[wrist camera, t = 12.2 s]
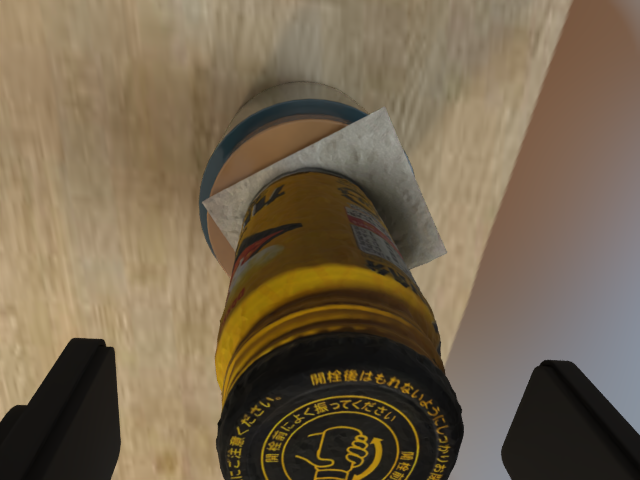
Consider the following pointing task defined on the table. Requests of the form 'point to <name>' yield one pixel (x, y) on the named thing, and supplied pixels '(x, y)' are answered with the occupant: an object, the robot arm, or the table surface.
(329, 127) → the blue jar
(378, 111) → the yellow coffee bottle
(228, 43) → the table surface
